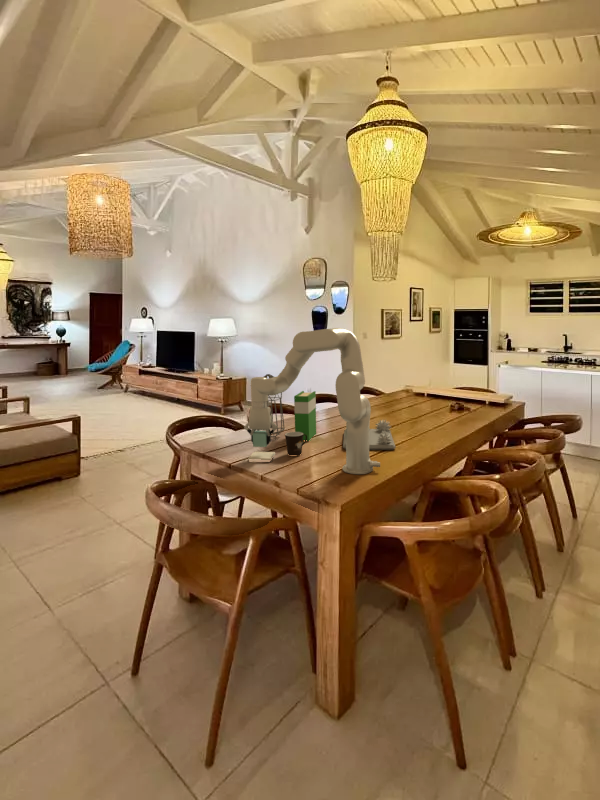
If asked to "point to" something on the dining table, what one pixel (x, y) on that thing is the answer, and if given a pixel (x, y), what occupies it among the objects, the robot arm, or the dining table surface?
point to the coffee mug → (294, 442)
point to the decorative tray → (378, 437)
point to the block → (260, 439)
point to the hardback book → (305, 414)
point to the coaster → (262, 455)
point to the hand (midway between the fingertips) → (261, 443)
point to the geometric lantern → (275, 410)
